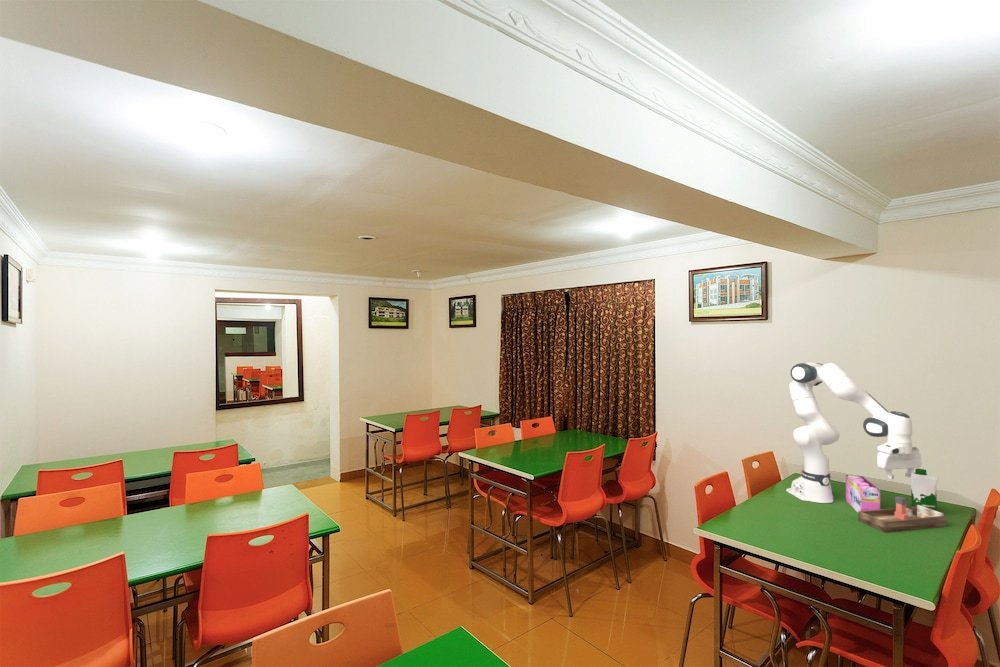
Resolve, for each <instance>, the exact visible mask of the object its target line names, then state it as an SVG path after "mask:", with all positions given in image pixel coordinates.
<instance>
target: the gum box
mask: <svg viewBox="0 0 1000 667" xmlns="http://www.w3.org/2000/svg"><path fill="white" fill-rule="evenodd" d="M845 501H846V502H847V503H848V504H849V505H850V507H852V508H853V509H854V511H856V512H857V513H858V511H869V510H880V509H881V489H880V488H879V487H877V486H876V485H874V484H873V483H872V482H870V481H869V480H868V479H867V478H866V477H864V476H863V475H858V476H856V475H855V476H854V475H848V474H845Z"/></svg>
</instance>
